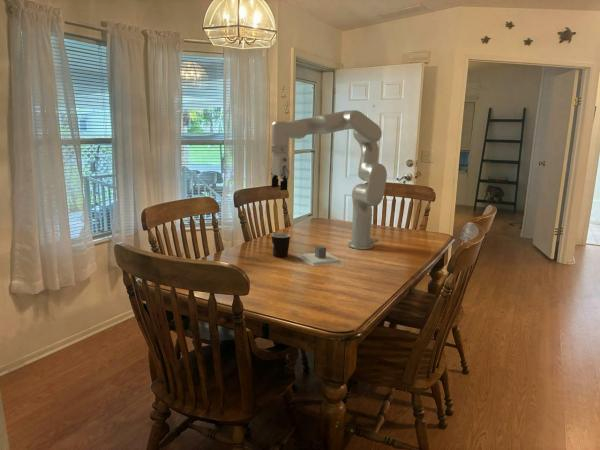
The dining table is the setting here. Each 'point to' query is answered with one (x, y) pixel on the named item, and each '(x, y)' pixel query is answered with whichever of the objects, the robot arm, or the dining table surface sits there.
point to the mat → (318, 264)
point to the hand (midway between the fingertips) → (279, 188)
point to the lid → (320, 256)
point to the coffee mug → (280, 244)
